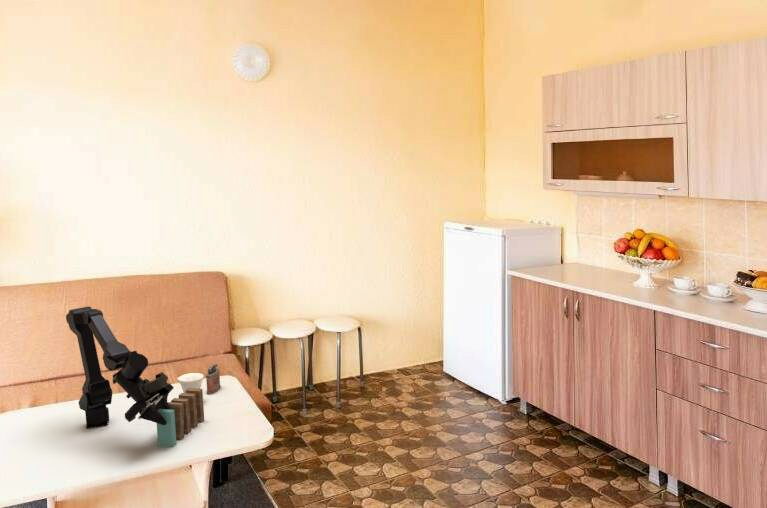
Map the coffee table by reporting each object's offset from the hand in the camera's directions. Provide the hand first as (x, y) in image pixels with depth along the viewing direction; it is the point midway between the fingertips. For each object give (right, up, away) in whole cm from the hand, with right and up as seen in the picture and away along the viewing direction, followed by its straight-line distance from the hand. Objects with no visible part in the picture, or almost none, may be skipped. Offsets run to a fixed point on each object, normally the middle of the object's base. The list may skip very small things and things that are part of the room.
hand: (169, 421), depth 184 cm
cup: (-4, -3, +35) cm, 35 cm away
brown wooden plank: (+1, -6, +14) cm, 16 cm away
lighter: (0, -1, +47) cm, 47 cm away
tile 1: (+2, -5, +19) cm, 20 cm away
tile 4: (0, -7, +6) cm, 9 cm away
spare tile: (-1, -7, +1) cm, 8 cm away
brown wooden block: (+1, -6, +10) cm, 12 cm away
